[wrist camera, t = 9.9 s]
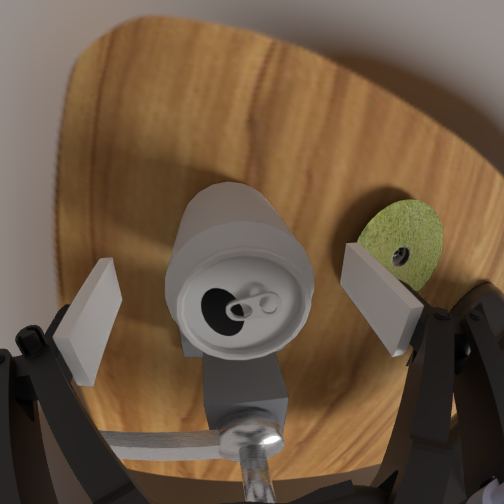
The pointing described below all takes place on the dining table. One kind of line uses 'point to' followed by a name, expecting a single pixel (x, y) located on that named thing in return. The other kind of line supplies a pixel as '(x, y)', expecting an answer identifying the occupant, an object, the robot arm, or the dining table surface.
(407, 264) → the mat
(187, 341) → the grey pedestal post
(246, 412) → the teal grip latch lever
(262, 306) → the can
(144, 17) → the dining table surface
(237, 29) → the dining table surface
